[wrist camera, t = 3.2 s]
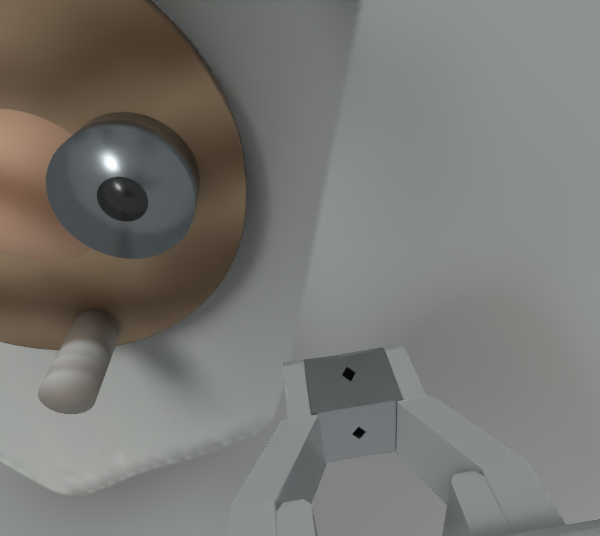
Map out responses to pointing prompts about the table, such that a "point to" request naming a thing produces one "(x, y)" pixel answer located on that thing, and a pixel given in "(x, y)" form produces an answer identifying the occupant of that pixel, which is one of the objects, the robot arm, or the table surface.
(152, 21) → the turntable
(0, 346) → the table surface
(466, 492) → the robot arm
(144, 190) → the pot lid
